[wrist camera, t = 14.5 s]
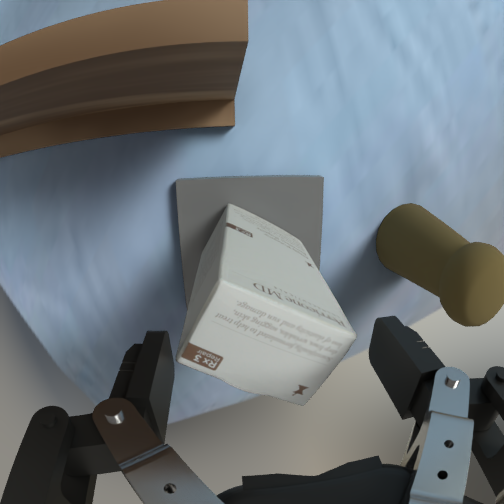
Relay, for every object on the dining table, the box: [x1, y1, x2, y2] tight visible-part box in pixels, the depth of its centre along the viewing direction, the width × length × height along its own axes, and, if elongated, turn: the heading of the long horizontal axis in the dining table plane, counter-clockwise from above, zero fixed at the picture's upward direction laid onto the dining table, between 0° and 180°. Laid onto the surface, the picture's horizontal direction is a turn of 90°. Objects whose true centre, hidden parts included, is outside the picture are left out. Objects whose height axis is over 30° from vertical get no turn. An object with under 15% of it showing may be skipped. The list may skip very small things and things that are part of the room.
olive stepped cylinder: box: [376, 203, 504, 326], centre depth 20 cm, size 6×6×11 cm
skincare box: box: [176, 204, 357, 406], centre depth 17 cm, size 6×4×12 cm
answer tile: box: [176, 175, 324, 310], centre depth 23 cm, size 10×10×1 cm
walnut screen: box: [0, 0, 248, 158], centre depth 13 cm, size 5×20×14 cm, turn 91°
